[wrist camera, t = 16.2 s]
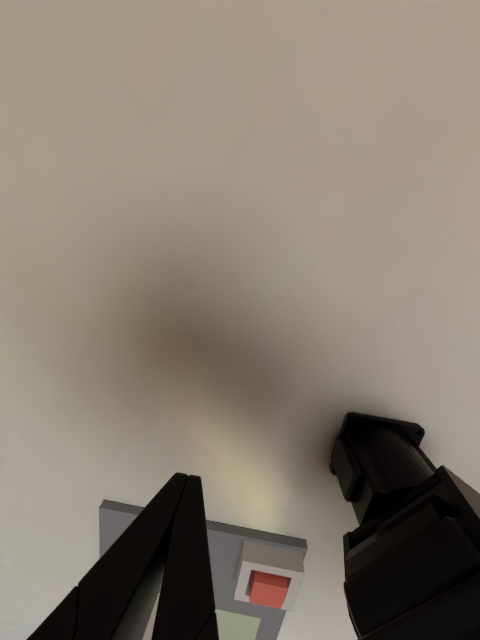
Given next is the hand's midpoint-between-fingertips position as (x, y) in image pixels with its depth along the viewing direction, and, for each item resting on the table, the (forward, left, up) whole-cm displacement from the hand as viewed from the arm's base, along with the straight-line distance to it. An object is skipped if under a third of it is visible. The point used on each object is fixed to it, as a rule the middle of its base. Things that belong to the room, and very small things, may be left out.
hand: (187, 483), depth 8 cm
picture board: (0, +31, -13) cm, 33 cm away
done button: (-8, +24, -12) cm, 28 cm away
